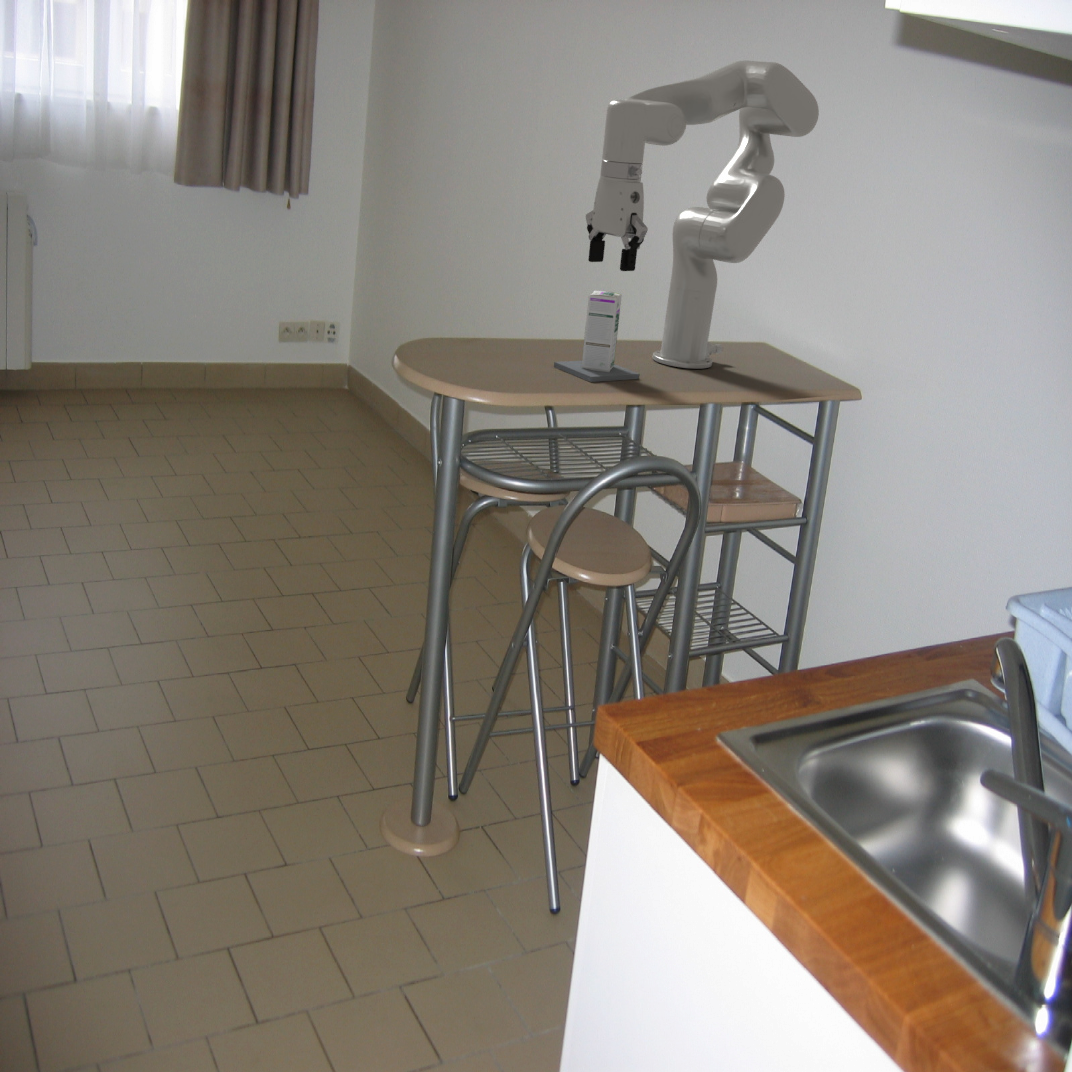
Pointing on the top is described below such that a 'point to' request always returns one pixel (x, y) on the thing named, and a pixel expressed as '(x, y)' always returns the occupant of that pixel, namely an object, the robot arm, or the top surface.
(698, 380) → the top surface
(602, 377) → the grey square plate
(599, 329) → the syrup box
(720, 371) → the top surface
